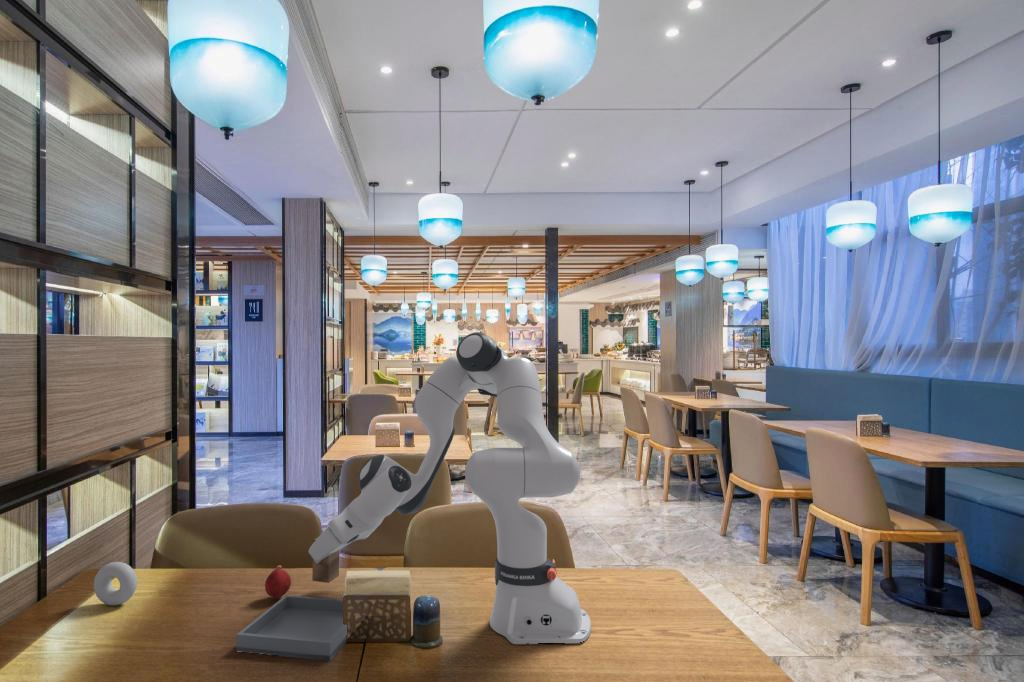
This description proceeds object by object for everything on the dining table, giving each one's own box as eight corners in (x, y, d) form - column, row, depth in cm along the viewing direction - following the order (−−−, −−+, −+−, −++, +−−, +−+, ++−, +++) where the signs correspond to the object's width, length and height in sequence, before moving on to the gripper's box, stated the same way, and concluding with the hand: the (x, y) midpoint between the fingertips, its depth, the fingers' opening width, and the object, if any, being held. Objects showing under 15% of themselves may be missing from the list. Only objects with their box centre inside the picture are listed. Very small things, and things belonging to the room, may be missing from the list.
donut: (140, 602, 132) (141, 560, 132) (129, 609, 128) (130, 565, 128) (101, 600, 132) (102, 558, 133) (89, 607, 129) (90, 564, 129)
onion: (272, 606, 130) (273, 572, 130) (260, 600, 133) (260, 566, 134) (295, 598, 135) (295, 565, 135) (282, 591, 138) (283, 559, 138)
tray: (367, 616, 125) (367, 601, 126) (330, 661, 108) (330, 643, 108) (285, 610, 128) (285, 594, 128) (236, 652, 111) (236, 634, 111)
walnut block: (338, 575, 139) (339, 535, 139) (328, 582, 134) (328, 541, 135) (323, 573, 140) (324, 534, 140) (312, 580, 136) (313, 539, 136)
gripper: (373, 499, 146) (340, 533, 148) (326, 521, 126) (289, 560, 128) (388, 517, 144) (354, 551, 147) (343, 543, 125) (305, 582, 127)
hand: (323, 556), depth 137 cm, fingers closed on walnut block, 4 cm apart
